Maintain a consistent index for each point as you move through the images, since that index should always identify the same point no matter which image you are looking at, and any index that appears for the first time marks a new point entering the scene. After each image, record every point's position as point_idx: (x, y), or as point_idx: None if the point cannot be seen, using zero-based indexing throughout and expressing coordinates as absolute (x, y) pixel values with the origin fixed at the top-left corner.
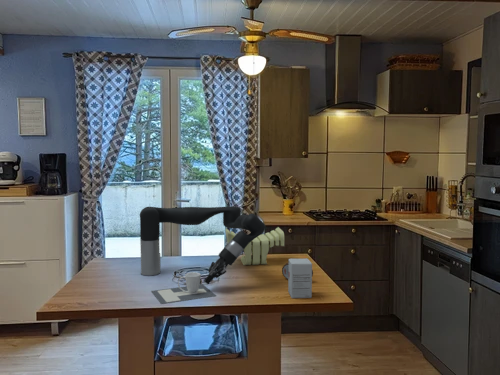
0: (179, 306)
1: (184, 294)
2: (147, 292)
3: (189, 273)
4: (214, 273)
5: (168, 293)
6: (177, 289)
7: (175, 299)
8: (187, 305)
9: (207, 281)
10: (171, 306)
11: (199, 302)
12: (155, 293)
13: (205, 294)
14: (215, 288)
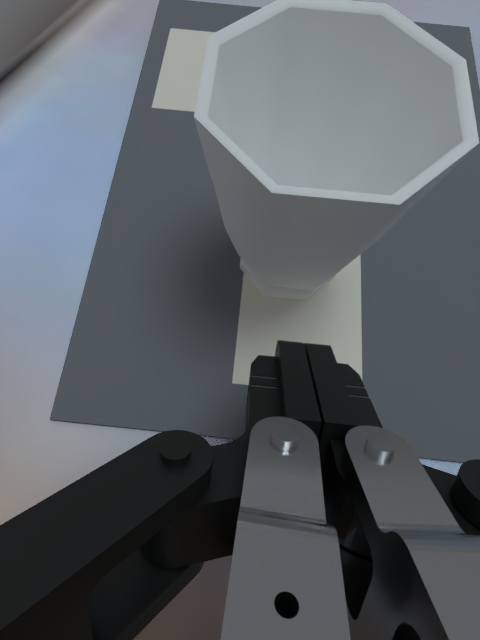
0: (37, 63)
1: None
2: (447, 8)
3: (452, 87)
4: (129, 464)
5: None
6: None
7: (190, 85)
8: (15, 108)
9: (252, 369)
10: (75, 29)
11: (8, 201)
12: None
13: (164, 332)
14: None
